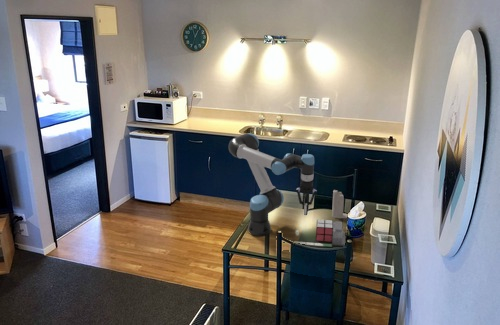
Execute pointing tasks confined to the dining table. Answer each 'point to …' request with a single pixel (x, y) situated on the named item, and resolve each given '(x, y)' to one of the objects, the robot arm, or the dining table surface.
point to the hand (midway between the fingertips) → (305, 213)
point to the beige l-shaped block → (338, 205)
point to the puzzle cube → (324, 230)
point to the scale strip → (315, 244)
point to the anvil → (338, 234)
